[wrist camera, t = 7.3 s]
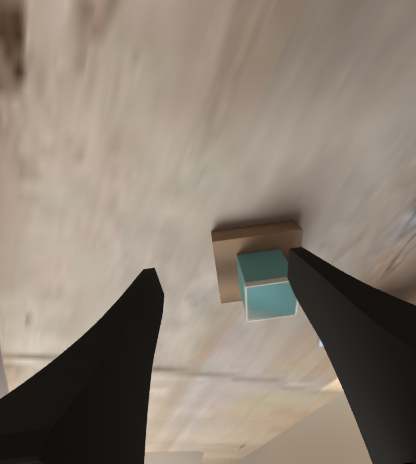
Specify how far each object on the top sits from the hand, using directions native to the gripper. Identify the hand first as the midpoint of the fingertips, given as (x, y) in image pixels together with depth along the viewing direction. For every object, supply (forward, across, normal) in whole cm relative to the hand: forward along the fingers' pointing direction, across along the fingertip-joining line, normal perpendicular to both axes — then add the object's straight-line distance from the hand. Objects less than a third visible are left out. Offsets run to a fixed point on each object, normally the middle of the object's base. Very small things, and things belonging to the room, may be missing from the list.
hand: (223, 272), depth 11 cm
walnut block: (+11, -4, +8) cm, 14 cm away
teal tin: (+9, -4, +8) cm, 12 cm away
